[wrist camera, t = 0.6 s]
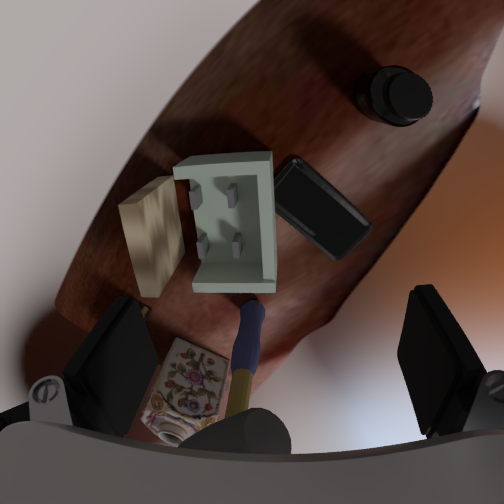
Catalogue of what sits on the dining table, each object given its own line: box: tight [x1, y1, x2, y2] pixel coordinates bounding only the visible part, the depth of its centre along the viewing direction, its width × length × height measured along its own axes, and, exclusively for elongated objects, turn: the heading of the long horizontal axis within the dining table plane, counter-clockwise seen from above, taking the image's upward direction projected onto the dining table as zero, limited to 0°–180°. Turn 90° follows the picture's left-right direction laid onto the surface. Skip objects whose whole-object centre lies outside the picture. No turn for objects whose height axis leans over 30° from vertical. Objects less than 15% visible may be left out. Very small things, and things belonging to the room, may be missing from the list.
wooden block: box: [118, 176, 185, 298], centre depth 40 cm, size 12×3×12 cm, turn 4°
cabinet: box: [173, 151, 277, 293], centre depth 41 cm, size 17×11×7 cm, turn 4°
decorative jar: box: [140, 337, 230, 445], centre depth 51 cm, size 12×12×18 cm
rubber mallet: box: [178, 300, 291, 454], centre depth 38 cm, size 12×8×30 cm, turn 139°
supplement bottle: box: [353, 65, 433, 127], centre depth 29 cm, size 7×7×12 cm
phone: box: [273, 158, 373, 261], centre depth 42 cm, size 8×1×15 cm
